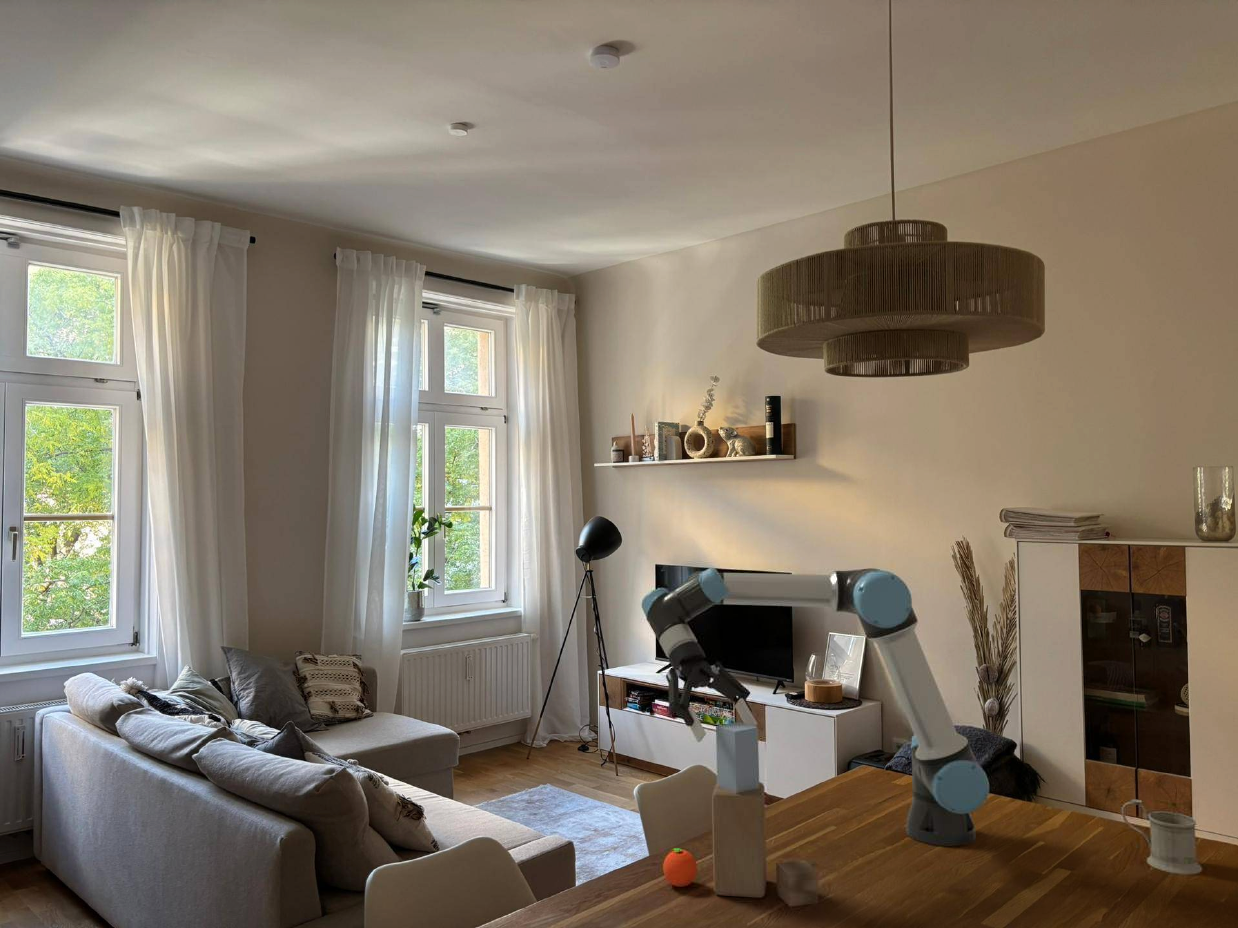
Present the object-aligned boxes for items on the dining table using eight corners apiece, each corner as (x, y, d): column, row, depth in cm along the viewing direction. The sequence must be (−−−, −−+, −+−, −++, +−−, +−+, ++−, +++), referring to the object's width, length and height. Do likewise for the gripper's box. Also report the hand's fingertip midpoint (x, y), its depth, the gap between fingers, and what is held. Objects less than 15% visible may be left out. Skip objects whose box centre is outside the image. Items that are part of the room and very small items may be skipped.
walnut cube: (804, 890, 180) (804, 859, 180) (818, 902, 174) (817, 871, 175) (776, 893, 179) (776, 863, 179) (789, 906, 173) (788, 874, 173)
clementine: (655, 879, 186) (654, 844, 187) (685, 874, 189) (685, 839, 189) (672, 894, 179) (671, 858, 179) (703, 888, 182) (702, 852, 182)
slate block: (740, 780, 187) (738, 721, 188) (759, 787, 182) (757, 727, 183) (717, 785, 184) (716, 725, 185) (736, 792, 179) (734, 731, 180)
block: (764, 899, 176) (762, 795, 177) (713, 896, 178) (711, 793, 179) (766, 879, 186) (764, 780, 187) (718, 876, 188) (716, 778, 189)
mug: (1206, 863, 190) (1203, 805, 191) (1196, 878, 183) (1193, 817, 184) (1129, 847, 200) (1127, 792, 201) (1117, 860, 193) (1114, 803, 193)
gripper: (719, 655, 207) (765, 734, 194) (629, 666, 194) (671, 752, 180) (734, 634, 203) (782, 713, 190) (642, 644, 190) (687, 731, 176)
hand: (728, 733), depth 185 cm, fingers open, 13 cm apart
